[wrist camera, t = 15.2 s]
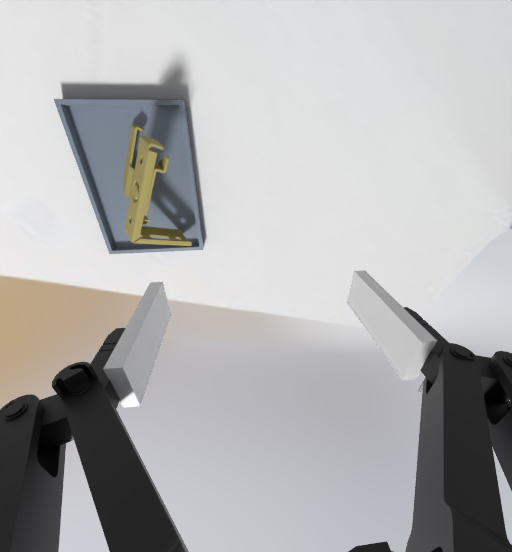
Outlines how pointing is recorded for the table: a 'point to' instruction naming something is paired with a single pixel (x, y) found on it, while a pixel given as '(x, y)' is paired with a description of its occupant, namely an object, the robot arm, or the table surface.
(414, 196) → the table surface
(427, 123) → the table surface
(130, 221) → the bracket
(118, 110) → the tray
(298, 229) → the table surface
